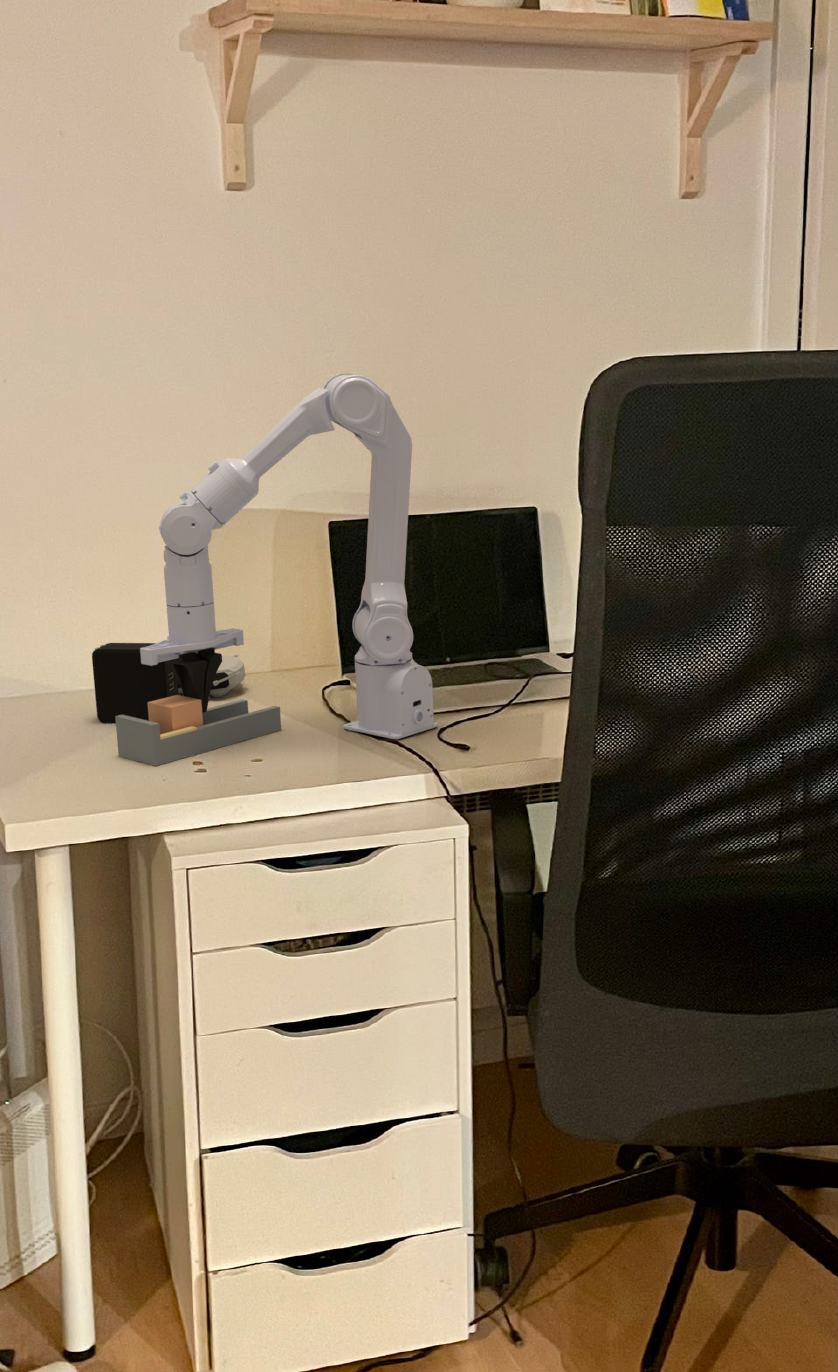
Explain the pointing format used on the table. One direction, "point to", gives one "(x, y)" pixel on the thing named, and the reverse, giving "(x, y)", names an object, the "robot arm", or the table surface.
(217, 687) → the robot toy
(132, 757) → the trough
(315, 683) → the table surface
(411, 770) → the table surface
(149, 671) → the electronic device
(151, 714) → the block
